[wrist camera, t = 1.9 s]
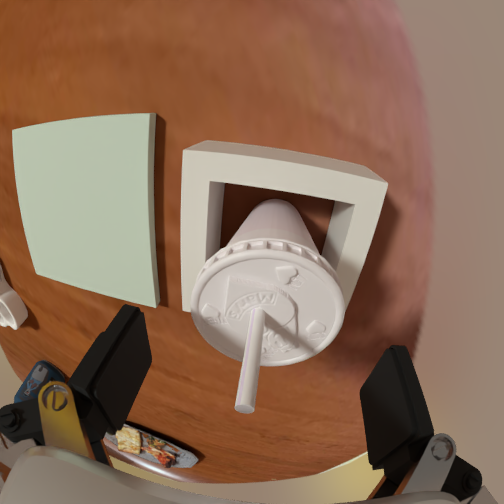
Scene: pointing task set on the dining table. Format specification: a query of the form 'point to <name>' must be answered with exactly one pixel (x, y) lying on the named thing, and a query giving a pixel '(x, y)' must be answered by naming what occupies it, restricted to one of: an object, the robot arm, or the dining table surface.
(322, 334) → the smoothie
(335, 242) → the drink caddy
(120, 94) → the dining table surface
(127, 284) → the serving mat
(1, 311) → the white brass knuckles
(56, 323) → the dining table surface
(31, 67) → the dining table surface
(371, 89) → the dining table surface
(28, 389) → the soda can
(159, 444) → the food plate
